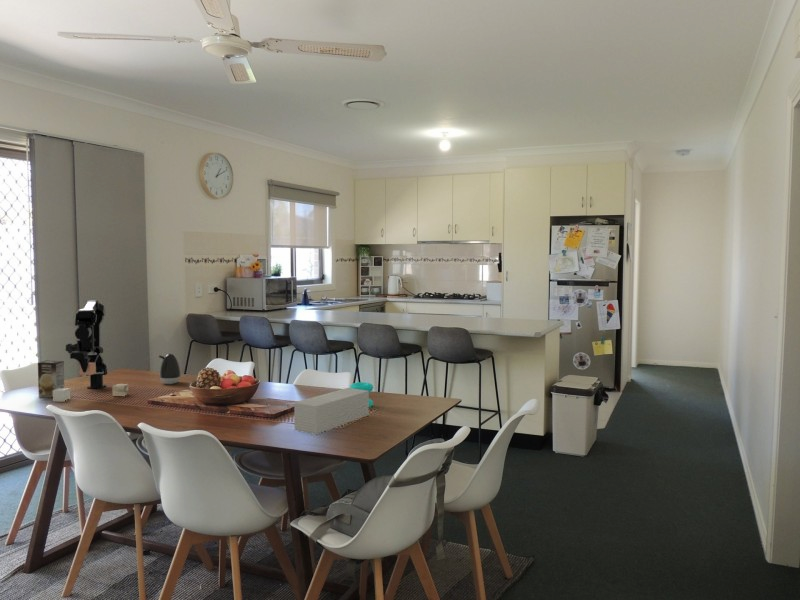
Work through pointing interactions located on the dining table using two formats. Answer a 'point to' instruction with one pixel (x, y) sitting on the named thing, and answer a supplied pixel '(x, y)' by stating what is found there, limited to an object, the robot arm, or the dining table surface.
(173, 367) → the pump dispenser
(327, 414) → the stack of papers
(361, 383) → the donuts
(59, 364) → the coffee box
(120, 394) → the maple block
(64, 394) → the offwhite block
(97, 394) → the dining table surface
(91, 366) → the terracotta block
